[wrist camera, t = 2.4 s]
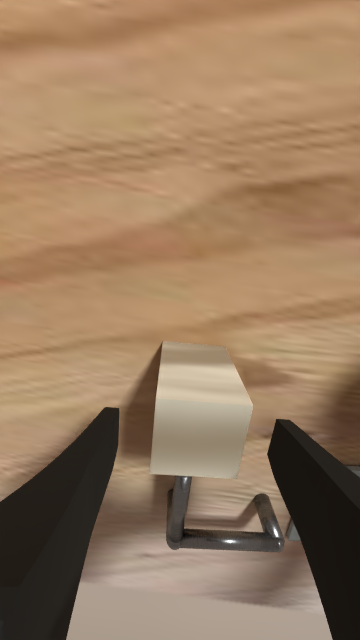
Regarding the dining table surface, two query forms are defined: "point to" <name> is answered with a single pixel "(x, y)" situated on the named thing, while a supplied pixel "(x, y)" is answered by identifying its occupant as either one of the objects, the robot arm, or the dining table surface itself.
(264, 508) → the bent rod
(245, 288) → the dining table surface
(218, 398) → the ash block
